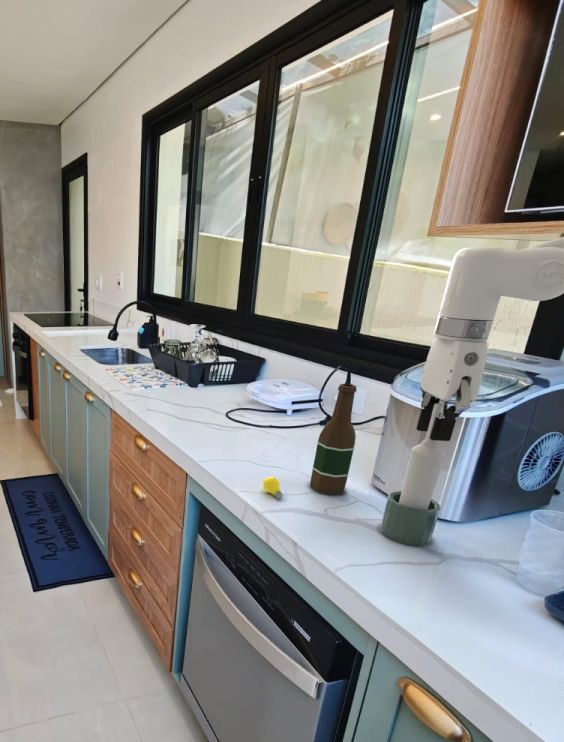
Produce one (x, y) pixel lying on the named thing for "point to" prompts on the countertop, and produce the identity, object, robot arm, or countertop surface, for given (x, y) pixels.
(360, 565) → the countertop surface
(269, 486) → the light bulb
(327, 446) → the beer bottle
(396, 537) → the holder
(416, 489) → the bottle
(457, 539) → the countertop surface
